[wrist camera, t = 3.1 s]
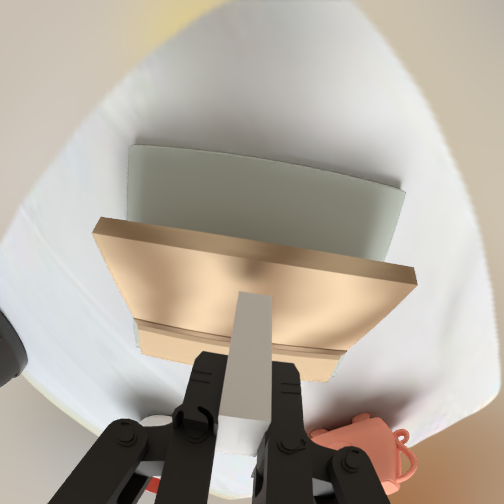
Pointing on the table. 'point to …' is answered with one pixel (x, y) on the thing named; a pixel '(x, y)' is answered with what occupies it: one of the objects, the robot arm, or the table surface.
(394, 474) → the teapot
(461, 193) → the table surface
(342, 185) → the pad
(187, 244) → the board
